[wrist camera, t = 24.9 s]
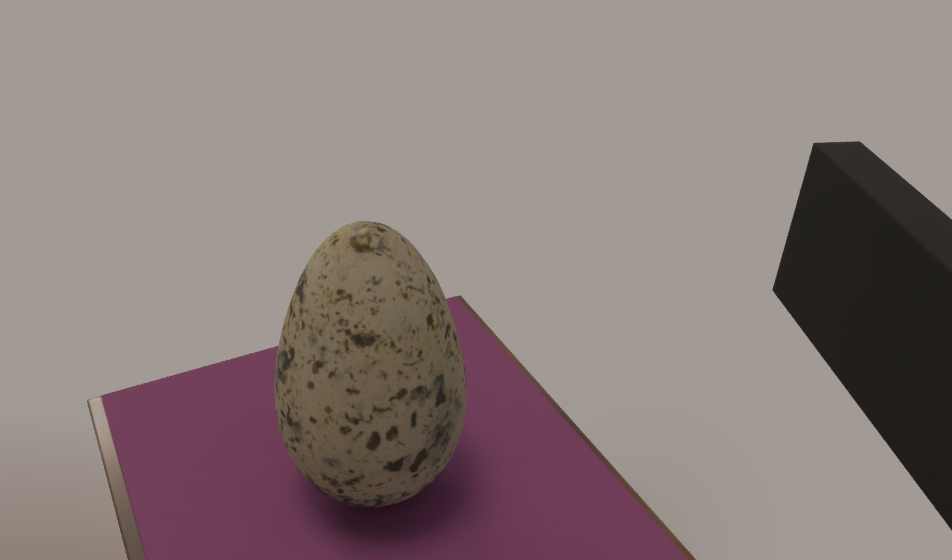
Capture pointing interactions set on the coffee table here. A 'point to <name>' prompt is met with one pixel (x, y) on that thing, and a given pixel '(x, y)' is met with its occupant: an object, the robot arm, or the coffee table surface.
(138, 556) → the plinth
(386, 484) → the decorative egg
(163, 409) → the cloth
